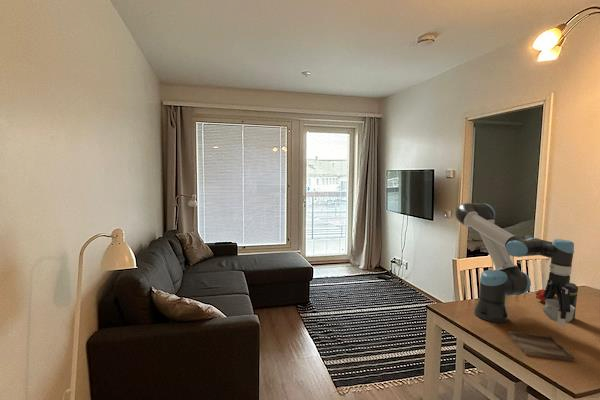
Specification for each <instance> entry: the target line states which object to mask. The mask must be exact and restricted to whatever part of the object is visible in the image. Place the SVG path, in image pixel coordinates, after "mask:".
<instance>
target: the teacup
mask: <svg viewBox="0 0 600 400" xmlns="http://www.w3.org/2000/svg"><path fill="white" fill-rule="evenodd" d="M558 310H560V307H559V302H558V300H556V299H546V300H545V302H544V306H543V307H542V312H543V313H544V314H545V315H546V316H547V318H548V319H550V320H551V321H553V322H556V323H557V318H558ZM574 310H575V307H574V306H572V305H570V312H567V313H566V319H565V324H566V323H569V322H572V321H573V320H572V318H573V314H574ZM575 311H576V310H575ZM571 320H572V321H571Z"/></svg>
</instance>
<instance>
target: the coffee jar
mask: <svg viewBox="0 0 600 400" xmlns="http://www.w3.org/2000/svg"><path fill="white" fill-rule="evenodd" d="M565 287H566V289H569V290H570V295H569V296H570V305H572V306H574V307H575V310H574V314H573V318H572V320H571V321H570V322H572V321H573V320H575V318H576V308H577V299H578V293H579V286H578V285H577V284H575V283H572V282H570V283H569V284H566V285H565ZM556 300H558V296H557V297H556Z"/></svg>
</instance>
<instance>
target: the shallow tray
mask: <svg viewBox="0 0 600 400" xmlns="http://www.w3.org/2000/svg"><path fill="white" fill-rule="evenodd" d="M508 336H509V337H510V338H511V340H513V342H514V343H515V344H516V346H518V348H519V349H520V350H521V351H522V353H523V355H525V356H531V357H538V358H546V359H552V360H561V361H565V362H566V361H567V362H573V363H574V362H575V356H573V354H572V353H570V352H569V351H568V350H567V349H566V348H565V347H564V346H563V345H561V343H560V342H558V341H557V339H555V338H554V337H553V336H551V335H543V334H536V333H527V332H520V331H513V330H512V331H511V330H509V331H508Z"/></svg>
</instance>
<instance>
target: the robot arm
mask: <svg viewBox="0 0 600 400" xmlns="http://www.w3.org/2000/svg"><path fill="white" fill-rule="evenodd" d="M455 218H456V220H457V221H458V222H459V223H461V224H462V225H464V227H467V228H472V229H474V230H475V231H477V232H478V233H479V235H480V238H481V241H482V242H483V244H484V247H485V248H486V250H487V253H488V254H489V257H490V259H491V261H492V263H493V265H494V267H495V269H487V270H483V271H482V272H481V273H480V277H479V293H478V300H477V303H476V304H475V307H474V309H473V313H474V315H475V316H476V317H478V318H479V319H482V320H485V321H487V322H493V323H499V324H500V323H502V324H503V323H506V322H508V320H509V315H508V314H509V313H508V311H507V307H506V299H507V298H506V297H508V296H510V297H511V296H520V295H524V294H526V293H528V292H529V291H530V289H531V286H532V285H531V284H532V283H531V282H532V281H531V279H530V277H529V275H528V274H527V273H525V272H524V271H521V270H520V267H519V266H518V265H517V264H514V262H513V261H512V258H511V257H516V258H522V257H531V256H532V257H533V256H542V257H545V258H549V259H550V265H549V274H548V279H547V283H546V286H545V288H544V290H545V292H544V294H543V296H544V297H545V299H553V297H554V296H558V302H559V307H560V310H558V318H557V322H556V325H558V326H565V325H566V323H565V319H566V313H567V312H570V296H569V295H570V290H569V289H566V287H565V285H566V284H569V283H571V282H570V281H571V274H572V267H573V265H572V263H573V258H574V253H575V243H574V242H573V241H571V240H567V239H562V238H555V239H553V241H548V240H544V239H542V238H541V239H540V238H538V237H535V238H534V237H529V238H527V239H522V238H520V237H518V236H516V235H514V234H512V233H511V232H509V231H507V230H505V229H504V228H501V227H500V226H498V225H497V224H495V222H496V220H495V218H496V211H495V209H494V207H493V206H491V205H490V204H488V203H483V202H479V203H467V202H466V203H462V204H460V205H459V206H458V207H457V208H456V209H455ZM510 256H511V257H510ZM546 294H547V295H546Z"/></svg>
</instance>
